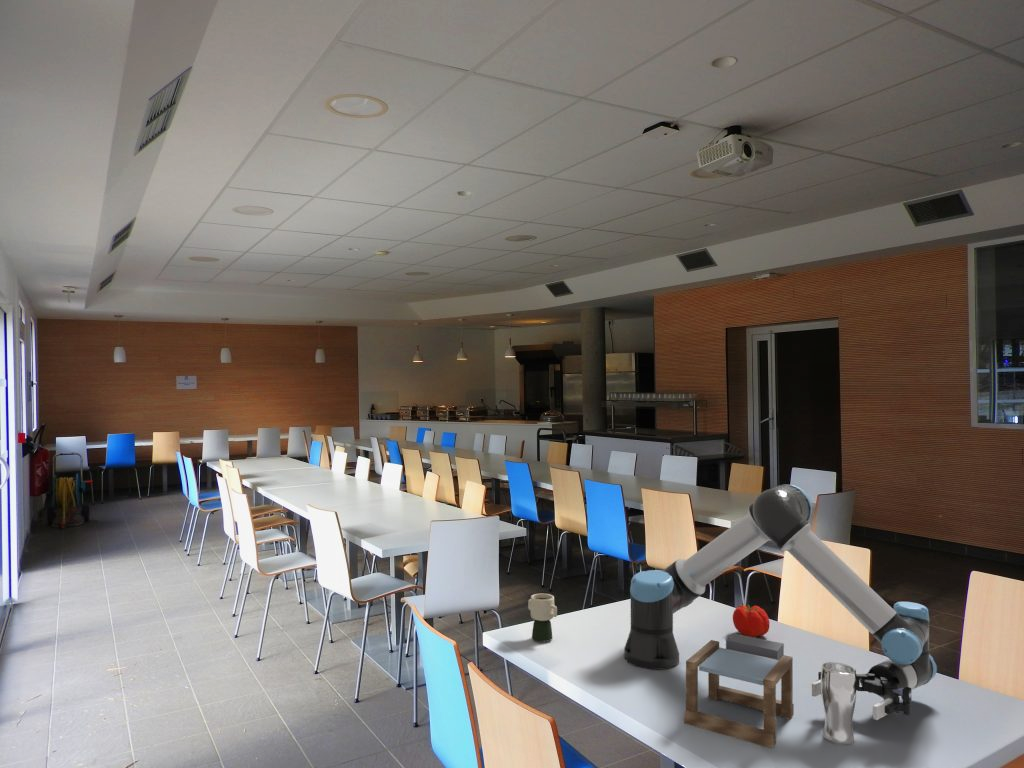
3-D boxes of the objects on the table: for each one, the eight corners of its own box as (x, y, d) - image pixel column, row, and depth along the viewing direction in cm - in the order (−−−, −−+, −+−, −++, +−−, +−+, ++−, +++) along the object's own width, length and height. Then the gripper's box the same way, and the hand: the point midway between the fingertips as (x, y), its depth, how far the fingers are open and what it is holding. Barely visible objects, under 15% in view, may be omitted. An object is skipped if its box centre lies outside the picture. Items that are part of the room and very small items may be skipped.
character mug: (563, 641, 206) (564, 597, 206) (548, 647, 201) (549, 602, 201) (536, 632, 213) (536, 590, 214) (520, 638, 208) (521, 595, 208)
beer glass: (814, 730, 151) (814, 661, 152) (844, 729, 152) (844, 661, 152) (831, 746, 144) (831, 674, 145) (863, 745, 145) (863, 673, 145)
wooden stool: (684, 723, 154) (684, 662, 155) (712, 693, 170) (712, 638, 170) (772, 748, 143) (772, 682, 144) (793, 714, 159) (793, 655, 159)
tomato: (730, 637, 211) (730, 609, 211) (737, 627, 220) (737, 600, 221) (766, 643, 206) (766, 614, 206) (772, 633, 215) (772, 605, 215)
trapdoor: (788, 661, 165) (788, 644, 165) (763, 692, 147) (763, 673, 147) (729, 648, 173) (729, 632, 173) (699, 677, 155) (699, 659, 155)
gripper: (950, 715, 150) (903, 742, 138) (839, 677, 171) (790, 697, 158) (950, 680, 151) (903, 704, 138) (839, 646, 171) (790, 665, 159)
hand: (842, 701), depth 148 cm, fingers open, 13 cm apart
